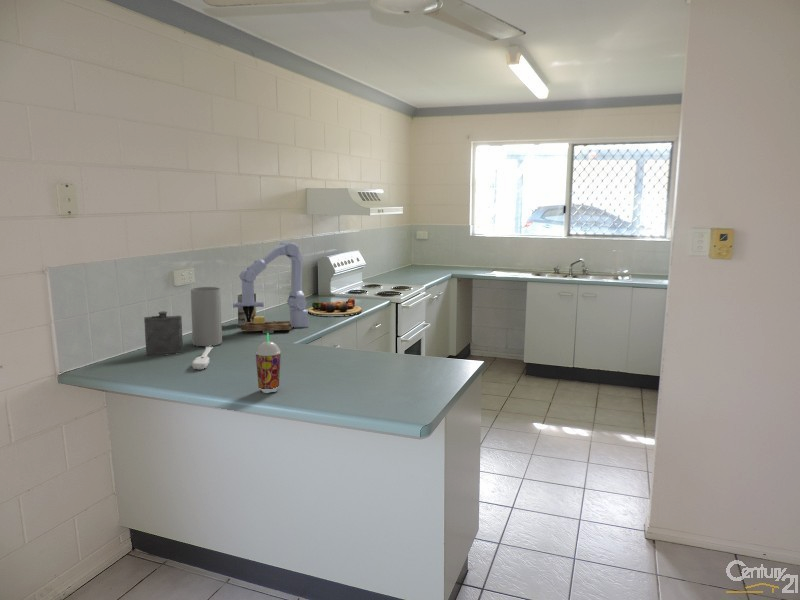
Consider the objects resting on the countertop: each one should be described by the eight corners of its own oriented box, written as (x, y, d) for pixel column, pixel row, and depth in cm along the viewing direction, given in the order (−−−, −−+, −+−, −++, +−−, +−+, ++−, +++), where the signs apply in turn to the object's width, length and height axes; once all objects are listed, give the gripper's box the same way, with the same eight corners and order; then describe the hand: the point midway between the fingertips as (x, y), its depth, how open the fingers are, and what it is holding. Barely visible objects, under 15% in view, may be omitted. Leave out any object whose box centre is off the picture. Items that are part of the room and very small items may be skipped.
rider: (264, 325, 292) (264, 316, 291) (264, 327, 287) (264, 318, 287) (254, 325, 291) (254, 316, 290) (254, 327, 286) (254, 318, 285)
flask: (182, 354, 245) (181, 311, 242) (145, 356, 241) (143, 313, 238) (183, 351, 249) (181, 310, 246) (146, 353, 244) (144, 311, 241)
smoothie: (258, 387, 203) (257, 330, 200) (282, 387, 204) (281, 330, 200) (254, 395, 195) (253, 336, 191) (279, 394, 195) (279, 336, 192)
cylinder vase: (225, 345, 261) (223, 290, 257) (196, 348, 254) (194, 291, 250) (218, 339, 271) (216, 286, 267) (190, 342, 265) (187, 287, 261)
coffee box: (249, 326, 301) (248, 295, 299) (237, 326, 302) (236, 295, 300) (257, 323, 310) (256, 293, 307) (245, 322, 311) (245, 292, 309)
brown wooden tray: (289, 326, 297) (289, 320, 296) (290, 329, 289) (290, 323, 289) (240, 327, 291) (240, 322, 290) (240, 331, 283) (240, 325, 283)
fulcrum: (272, 329, 295) (272, 326, 295) (273, 333, 287) (273, 330, 287) (262, 329, 294) (262, 327, 294) (262, 333, 286) (262, 330, 285)
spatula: (203, 353, 248) (202, 346, 247) (217, 352, 249) (217, 346, 248) (190, 371, 220) (190, 363, 220) (206, 370, 221) (206, 363, 221)
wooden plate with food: (347, 306, 369) (347, 293, 367) (371, 314, 342) (371, 300, 340) (299, 311, 352) (299, 297, 351) (320, 320, 325) (320, 305, 324)
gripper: (232, 295, 280) (233, 323, 282) (263, 295, 283) (264, 322, 285) (232, 293, 286) (233, 320, 289) (263, 292, 290) (263, 319, 292)
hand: (248, 321), depth 287 cm, fingers closed
